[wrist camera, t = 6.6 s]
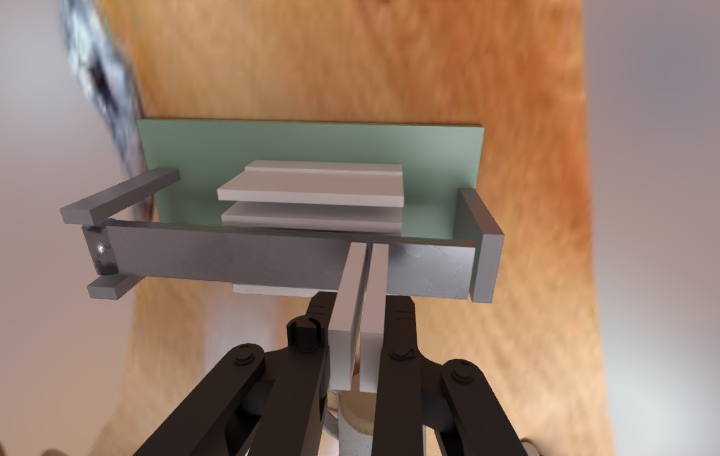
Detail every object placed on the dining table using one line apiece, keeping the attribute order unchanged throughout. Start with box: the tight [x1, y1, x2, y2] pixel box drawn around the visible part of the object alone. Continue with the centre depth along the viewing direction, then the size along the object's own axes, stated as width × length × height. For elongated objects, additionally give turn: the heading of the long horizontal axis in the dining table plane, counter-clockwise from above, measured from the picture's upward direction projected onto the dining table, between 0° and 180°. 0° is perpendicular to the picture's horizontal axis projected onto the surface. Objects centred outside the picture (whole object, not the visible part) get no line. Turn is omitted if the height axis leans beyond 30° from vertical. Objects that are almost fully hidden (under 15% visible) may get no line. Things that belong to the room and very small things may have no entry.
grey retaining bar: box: [82, 218, 475, 300], centre depth 19 cm, size 21×3×2 cm, turn 89°
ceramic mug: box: [323, 372, 426, 456], centre depth 31 cm, size 11×8×8 cm
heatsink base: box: [60, 118, 504, 303], centre depth 23 cm, size 23×12×9 cm, turn 89°
